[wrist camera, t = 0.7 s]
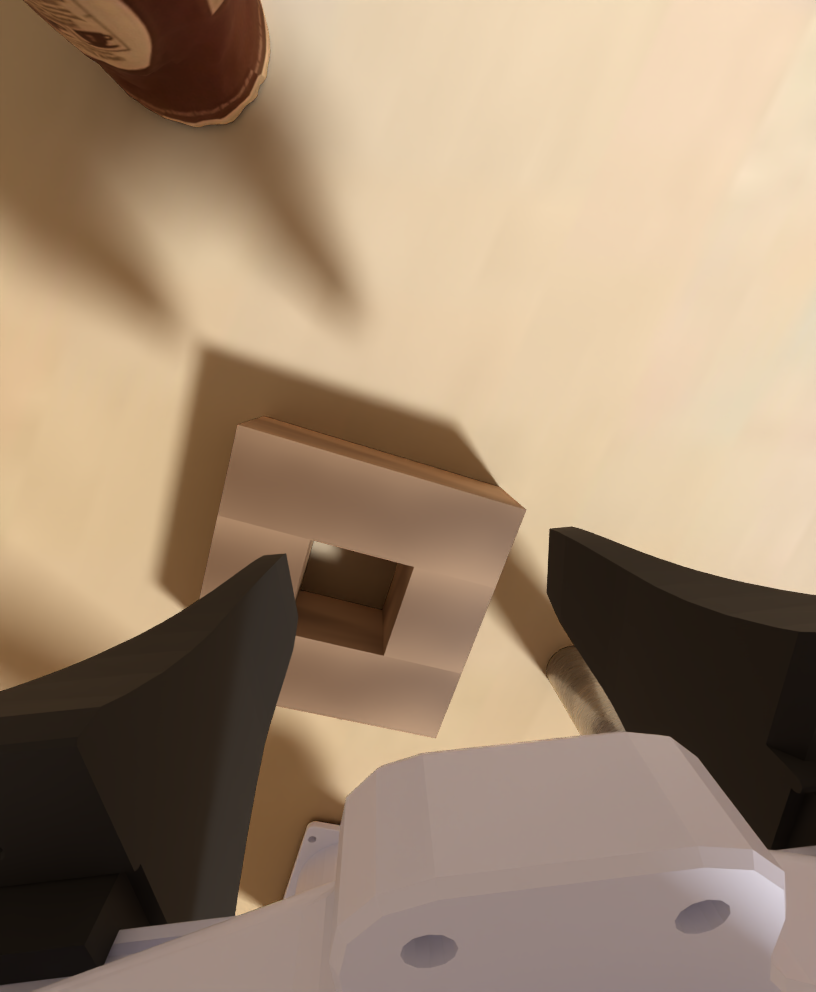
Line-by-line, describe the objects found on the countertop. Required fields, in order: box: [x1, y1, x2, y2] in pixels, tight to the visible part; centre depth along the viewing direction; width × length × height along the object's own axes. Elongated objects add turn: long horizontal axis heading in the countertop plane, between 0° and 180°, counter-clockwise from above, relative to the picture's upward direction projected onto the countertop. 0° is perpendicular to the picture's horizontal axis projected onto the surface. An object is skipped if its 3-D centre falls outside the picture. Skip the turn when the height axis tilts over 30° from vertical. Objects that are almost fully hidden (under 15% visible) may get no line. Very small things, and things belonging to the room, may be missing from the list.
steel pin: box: [547, 646, 626, 736], centre depth 21 cm, size 3×3×10 cm
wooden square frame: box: [199, 416, 526, 738], centre depth 20 cm, size 12×12×4 cm
